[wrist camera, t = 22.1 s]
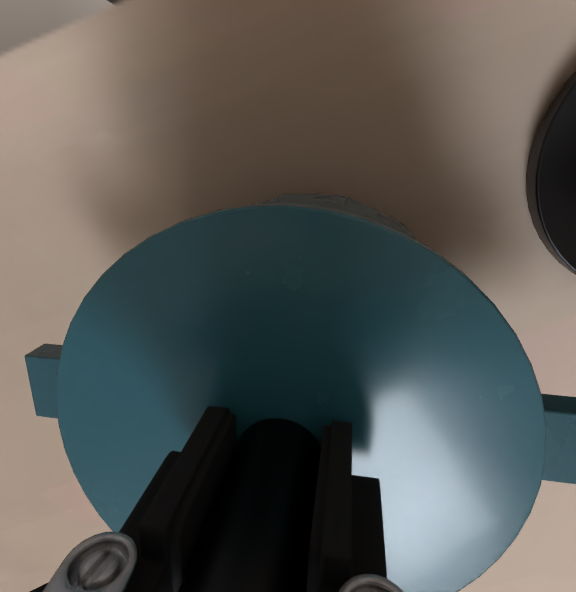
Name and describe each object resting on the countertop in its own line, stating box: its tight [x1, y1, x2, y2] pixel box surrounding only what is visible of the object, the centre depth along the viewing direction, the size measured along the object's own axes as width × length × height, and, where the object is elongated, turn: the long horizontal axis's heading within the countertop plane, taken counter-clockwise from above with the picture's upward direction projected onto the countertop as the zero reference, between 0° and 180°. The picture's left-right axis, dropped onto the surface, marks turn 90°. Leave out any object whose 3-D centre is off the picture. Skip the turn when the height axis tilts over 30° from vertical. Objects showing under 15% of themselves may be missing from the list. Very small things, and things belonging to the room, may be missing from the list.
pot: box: [25, 194, 576, 484], centre depth 16 cm, size 13×18×8 cm
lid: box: [56, 203, 546, 592], centre depth 9 cm, size 14×14×7 cm
